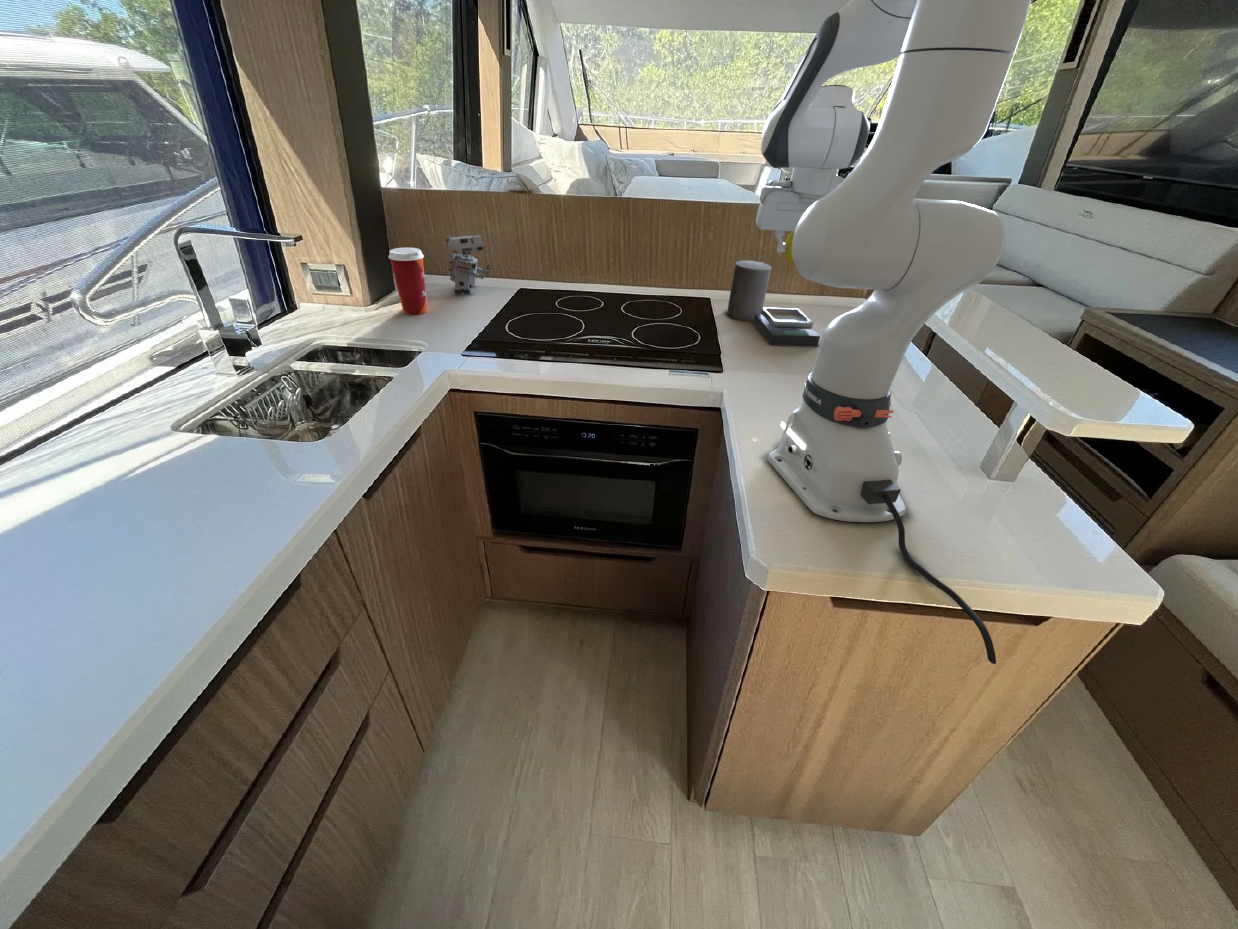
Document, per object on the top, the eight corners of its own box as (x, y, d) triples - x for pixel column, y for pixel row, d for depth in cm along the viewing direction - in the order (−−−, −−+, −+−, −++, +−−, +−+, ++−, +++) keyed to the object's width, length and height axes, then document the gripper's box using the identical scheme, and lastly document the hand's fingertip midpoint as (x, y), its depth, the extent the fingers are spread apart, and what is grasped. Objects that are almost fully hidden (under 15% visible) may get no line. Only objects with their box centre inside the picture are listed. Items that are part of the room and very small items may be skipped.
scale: (817, 345, 130) (820, 334, 129) (770, 344, 129) (773, 332, 128) (795, 323, 144) (798, 313, 142) (753, 322, 143) (755, 311, 141)
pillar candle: (721, 315, 146) (730, 259, 138) (734, 307, 153) (744, 253, 145) (753, 323, 142) (765, 266, 134) (766, 314, 149) (778, 259, 140)
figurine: (490, 295, 151) (486, 239, 143) (449, 294, 149) (442, 238, 141) (492, 286, 158) (487, 233, 150) (453, 285, 157) (446, 231, 148)
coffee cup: (438, 311, 137) (429, 251, 129) (409, 318, 132) (398, 256, 123) (420, 304, 141) (410, 245, 133) (392, 310, 136) (380, 249, 128)
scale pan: (811, 328, 131) (813, 322, 131) (773, 327, 131) (774, 321, 130) (796, 314, 141) (798, 308, 140) (760, 313, 140) (761, 307, 139)
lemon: (806, 270, 115) (816, 230, 110) (780, 267, 116) (789, 228, 111) (804, 263, 119) (813, 226, 115) (779, 261, 120) (787, 223, 115)
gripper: (767, 182, 104) (754, 254, 112) (866, 186, 106) (845, 258, 114) (759, 177, 110) (746, 247, 118) (852, 182, 111) (834, 250, 119)
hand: (796, 252), depth 116 cm, fingers closed on lemon, 5 cm apart
